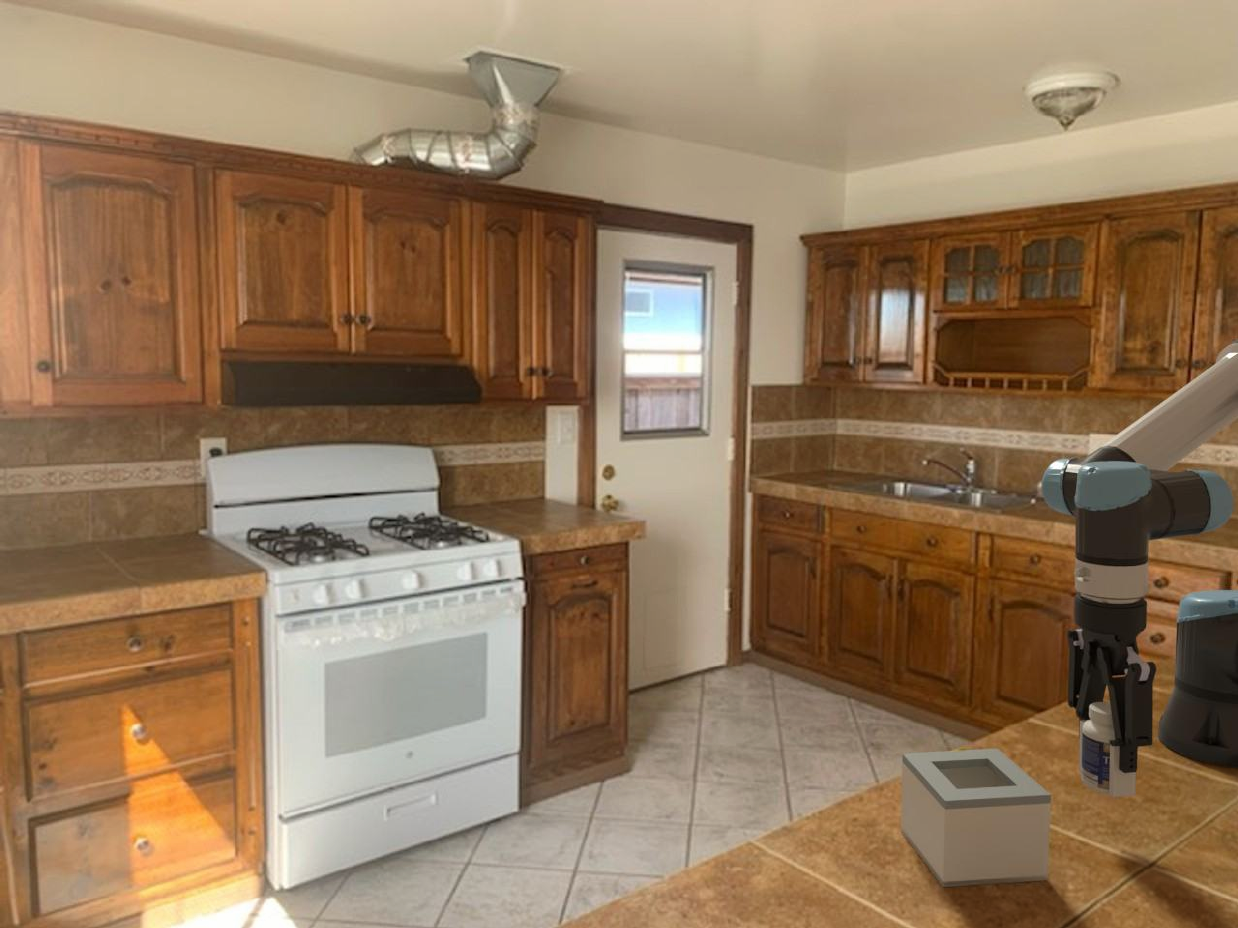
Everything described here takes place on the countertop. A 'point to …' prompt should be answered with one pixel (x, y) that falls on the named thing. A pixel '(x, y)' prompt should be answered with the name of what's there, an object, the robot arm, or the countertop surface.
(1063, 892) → the countertop surface
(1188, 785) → the countertop surface
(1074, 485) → the robot arm
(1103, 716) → the pill bottle
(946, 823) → the drop box
